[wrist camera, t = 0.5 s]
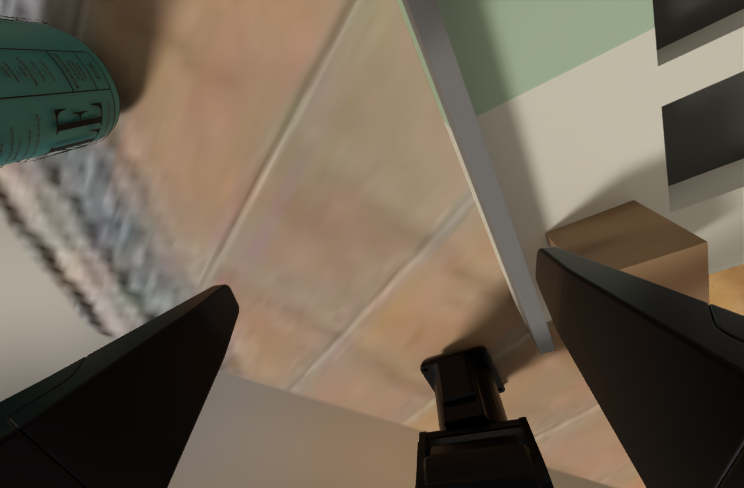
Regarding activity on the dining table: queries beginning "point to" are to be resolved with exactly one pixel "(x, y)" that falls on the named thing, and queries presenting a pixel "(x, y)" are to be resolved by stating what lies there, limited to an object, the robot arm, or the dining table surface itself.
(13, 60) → the beverage bottle
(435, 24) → the trap box
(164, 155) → the dining table surface
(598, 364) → the robot arm
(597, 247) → the walnut block
